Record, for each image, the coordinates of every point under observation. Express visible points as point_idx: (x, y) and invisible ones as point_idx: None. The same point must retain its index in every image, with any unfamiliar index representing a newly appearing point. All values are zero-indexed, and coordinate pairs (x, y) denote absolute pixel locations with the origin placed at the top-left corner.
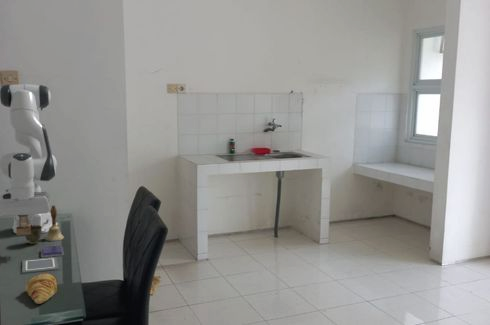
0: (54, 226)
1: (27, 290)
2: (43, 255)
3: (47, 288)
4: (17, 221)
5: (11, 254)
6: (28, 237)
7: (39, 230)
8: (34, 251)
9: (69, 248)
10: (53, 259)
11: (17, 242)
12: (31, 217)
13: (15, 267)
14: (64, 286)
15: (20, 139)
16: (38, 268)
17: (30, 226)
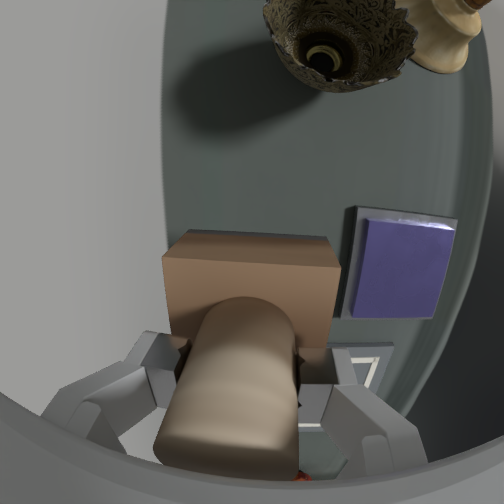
0: (468, 14)
1: None
2: (351, 319)
3: None
4: (159, 404)
5: (197, 217)
6: (298, 79)
7: (393, 74)
8: (321, 207)
9: (474, 227)
10: (373, 369)
11: (231, 17)
12: (349, 454)
13: None
14: (333, 479)
15: None
16: (301, 423)
17: (323, 340)
